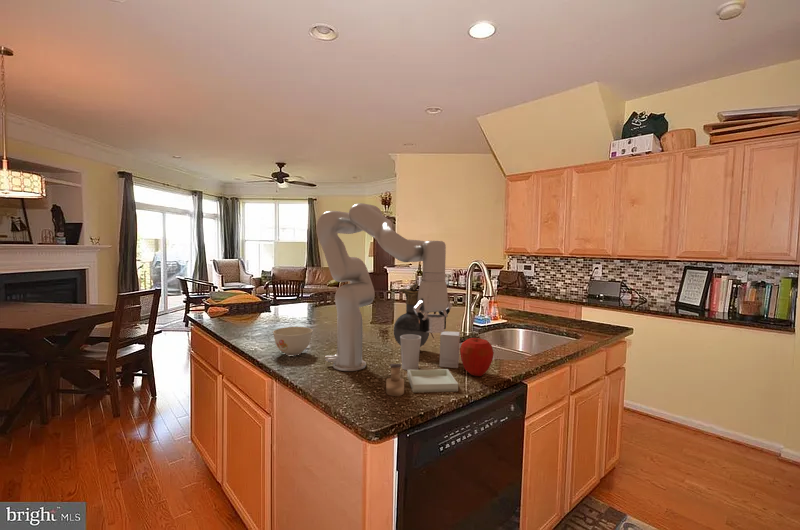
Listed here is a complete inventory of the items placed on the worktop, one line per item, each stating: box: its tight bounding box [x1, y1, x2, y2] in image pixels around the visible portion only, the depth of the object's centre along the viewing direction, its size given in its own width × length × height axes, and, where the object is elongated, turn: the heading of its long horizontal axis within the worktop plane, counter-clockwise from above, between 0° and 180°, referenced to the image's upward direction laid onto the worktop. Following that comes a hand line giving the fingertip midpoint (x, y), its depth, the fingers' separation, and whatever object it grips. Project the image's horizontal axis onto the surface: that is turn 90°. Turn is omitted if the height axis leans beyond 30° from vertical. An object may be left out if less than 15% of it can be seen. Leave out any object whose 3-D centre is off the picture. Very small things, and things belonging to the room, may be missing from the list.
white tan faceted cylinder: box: [385, 363, 405, 397], centre depth 120 cm, size 6×6×9 cm
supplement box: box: [439, 330, 461, 369], centre depth 150 cm, size 7×7×13 cm
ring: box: [419, 313, 445, 334], centre depth 128 cm, size 9×7×5 cm
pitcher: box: [393, 283, 437, 348], centre depth 167 cm, size 11×19×30 cm, turn 73°
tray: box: [406, 368, 459, 393], centre depth 129 cm, size 15×15×2 cm
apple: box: [459, 336, 495, 377], centre depth 138 cm, size 12×12×14 cm
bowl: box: [272, 326, 314, 356], centre depth 160 cm, size 16×16×10 cm
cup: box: [400, 334, 421, 371], centre depth 145 cm, size 8×8×12 cm
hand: (432, 329), depth 128 cm, fingers closed on ring, 7 cm apart
